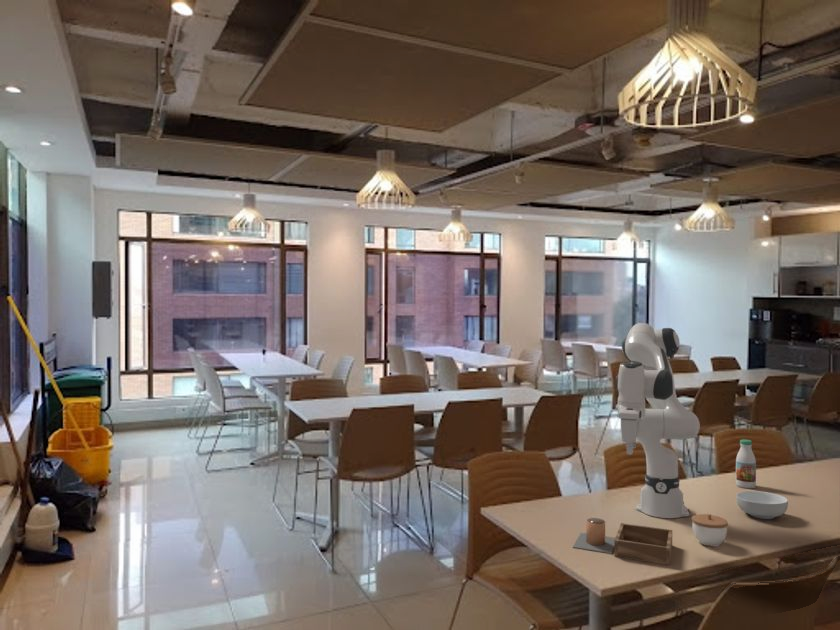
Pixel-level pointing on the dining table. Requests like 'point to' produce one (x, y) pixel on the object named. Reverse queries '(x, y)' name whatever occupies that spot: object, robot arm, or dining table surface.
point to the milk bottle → (745, 465)
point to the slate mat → (584, 545)
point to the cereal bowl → (762, 504)
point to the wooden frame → (641, 549)
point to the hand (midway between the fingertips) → (631, 451)
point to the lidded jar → (709, 529)
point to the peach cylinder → (595, 531)
